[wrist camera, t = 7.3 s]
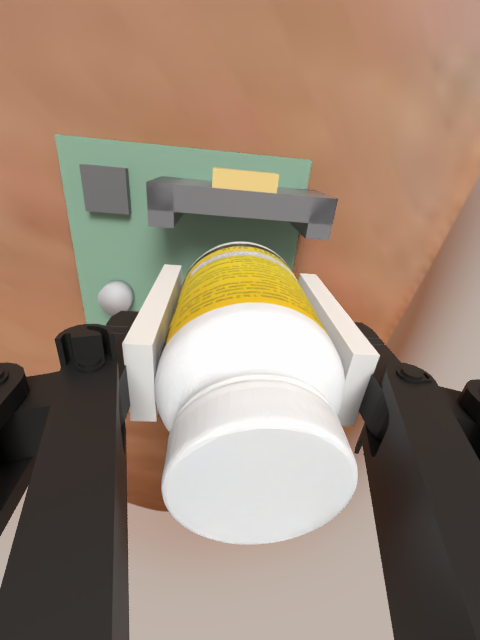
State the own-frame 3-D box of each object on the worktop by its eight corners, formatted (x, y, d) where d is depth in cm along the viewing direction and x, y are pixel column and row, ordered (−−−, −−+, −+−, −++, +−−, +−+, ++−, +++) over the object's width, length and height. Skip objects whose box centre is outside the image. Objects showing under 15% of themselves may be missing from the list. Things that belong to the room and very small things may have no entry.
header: (165, 315, 22) (154, 348, 18) (161, 160, 17) (144, 161, 13) (289, 321, 22) (303, 354, 19) (316, 175, 18) (342, 180, 14)
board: (91, 324, 22) (80, 339, 21) (61, 135, 17) (42, 132, 15) (278, 333, 24) (283, 348, 22) (308, 160, 18) (317, 160, 16)
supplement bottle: (163, 258, 14) (65, 434, 5) (281, 223, 13) (396, 350, 5) (203, 354, 16) (183, 580, 8) (303, 327, 16) (403, 535, 7)
